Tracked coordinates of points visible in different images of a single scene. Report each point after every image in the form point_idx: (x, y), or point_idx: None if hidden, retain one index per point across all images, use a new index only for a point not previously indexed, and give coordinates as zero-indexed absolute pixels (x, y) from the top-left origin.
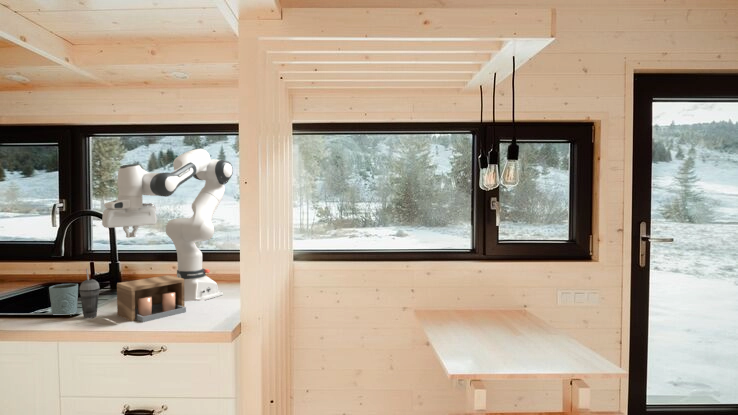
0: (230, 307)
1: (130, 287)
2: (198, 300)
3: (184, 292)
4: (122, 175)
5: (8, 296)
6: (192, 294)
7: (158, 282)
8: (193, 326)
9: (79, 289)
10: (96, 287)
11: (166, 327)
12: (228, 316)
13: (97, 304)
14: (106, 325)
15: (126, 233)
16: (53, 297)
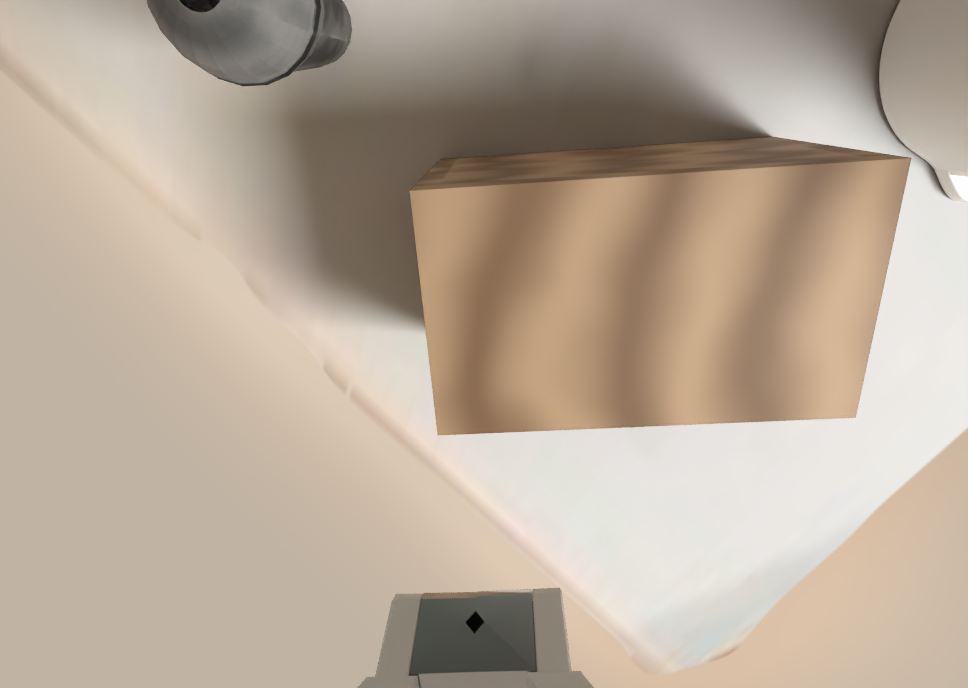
0: (930, 439)
1: (436, 422)
2: (950, 193)
3: (949, 114)
4: None
5: None
6: (966, 161)
7: (651, 404)
8: (616, 560)
9: None
10: (276, 72)
11: (536, 501)
12: (800, 548)
13: (334, 43)
14: (350, 287)
15: (380, 685)
16: None
